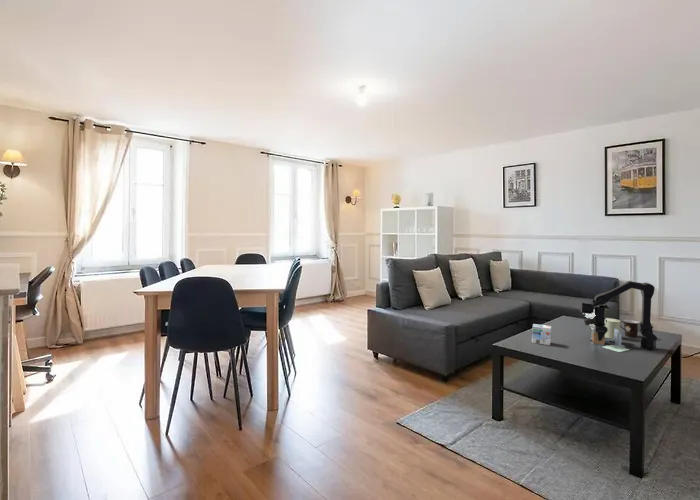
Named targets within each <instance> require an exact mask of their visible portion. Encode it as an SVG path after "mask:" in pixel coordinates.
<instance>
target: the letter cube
mask: <svg viewBox="0 0 700 500" xmlns="http://www.w3.org/2000/svg"><path fill="white" fill-rule="evenodd" d="M594 332H595V331H594ZM592 341H593V342H592ZM591 342H592V344H594V343H595V344H596V345H604V346H606V345H605V342H606V337H605V335H604V337H603V338H602V340H601V341H599V340H598V333H597V332H595V333H592V332H591Z"/></svg>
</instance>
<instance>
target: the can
mask: <svg viewBox="0 0 700 500" xmlns="http://www.w3.org/2000/svg"><path fill="white" fill-rule="evenodd" d="M606 319H607V323H606V324H605V325H603V326H606V327H607V328H608V332H607V333H606V334H605V339H606V338H607V339H610V338H611V339H614V330H615V329H617V330H618V331H619V332H620V333H621V331H620V329H621V327H620V325H621V322H620V321H621V320H619V319H616V318H609V317H608V318H606ZM611 339H610V340H611Z"/></svg>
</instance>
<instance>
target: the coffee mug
mask: <svg viewBox="0 0 700 500" xmlns="http://www.w3.org/2000/svg"><path fill="white" fill-rule="evenodd" d="M638 322H639V323H640V322H641V321H639V320H632V319H624V320H623V321H622V320H620V323H623V325H624V327H623V326H622V325H621V324H620V329H622V330H623V331H624V336H625V337H628V338H635V339H636V338H637V337H638V333H639V330H638V329H637V327H638Z"/></svg>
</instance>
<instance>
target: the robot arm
mask: <svg viewBox="0 0 700 500" xmlns="http://www.w3.org/2000/svg"><path fill="white" fill-rule="evenodd" d="M631 289H635V290H639V291H640V294H641V299H642V300H641V320H640V321H638V327H637V329H638V333H640V334H641V335H642V337H641V339H640V346H639V348H641V349H645V350H648V351H654V350H658V348H657V339H658V337H657V336H656V335H655V334H654V330H653V326H652V322H651V316H652V314H651V313H652V298H653V296H654V294H655V286H654V285H653V284H651V283H649V282H643V283H641V282H637V281H632V280H628V281H626V282H625V283H624V282H623V283H622V284H621V285H618V286H617V287H615V288H613V289H611V290H608V291H605V292H602V293H598V294H596V295H595V296H594V299H593V300H592V301H591V302H590V303H589V302H581V305H580V313H581V314H589V315H592V314H594V313H595V315H596V316H595V317H594V318H593V319H590V318H591V317H587V318H584V319H583V322H584V325H585V326H589V325H592V324H594V325H596V326H595V329H594V332H595V331H596V332H597V333H598V340H599V341H601V340H602V338H603V337H604V335H605V334H606V333H607V332H608V328H607V327H606V326H604V325H605V319H606V309H607V310H609V309H610V307H609V306H608V305H607V303H608V302H609V301H611V300H612V299H613V298H615V297H616V296H619V295H620V294H623V293H624V292H627V291H629V290H631ZM639 322H640V323H639Z"/></svg>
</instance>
